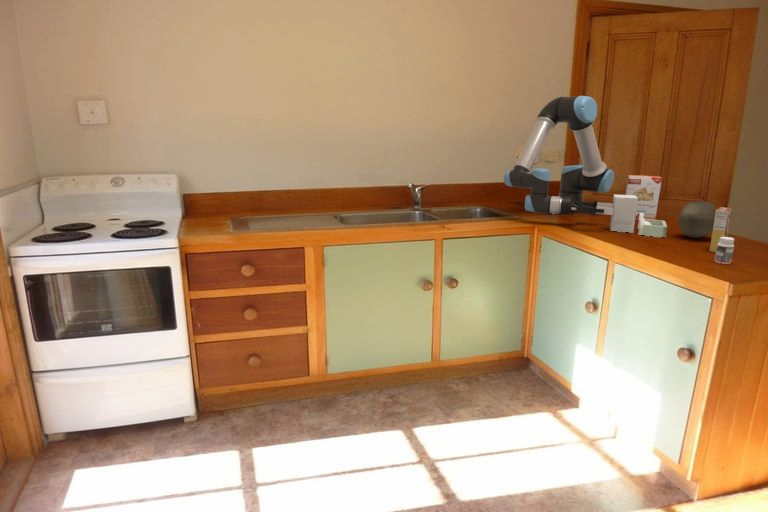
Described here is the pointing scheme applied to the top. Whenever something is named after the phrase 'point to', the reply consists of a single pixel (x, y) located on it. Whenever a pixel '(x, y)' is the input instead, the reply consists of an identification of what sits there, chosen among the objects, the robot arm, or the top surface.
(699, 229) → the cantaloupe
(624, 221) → the supplement box
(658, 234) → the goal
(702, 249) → the top surface
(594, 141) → the robot arm
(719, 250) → the pill bottle
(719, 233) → the candy box
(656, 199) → the cracker box
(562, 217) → the top surface
